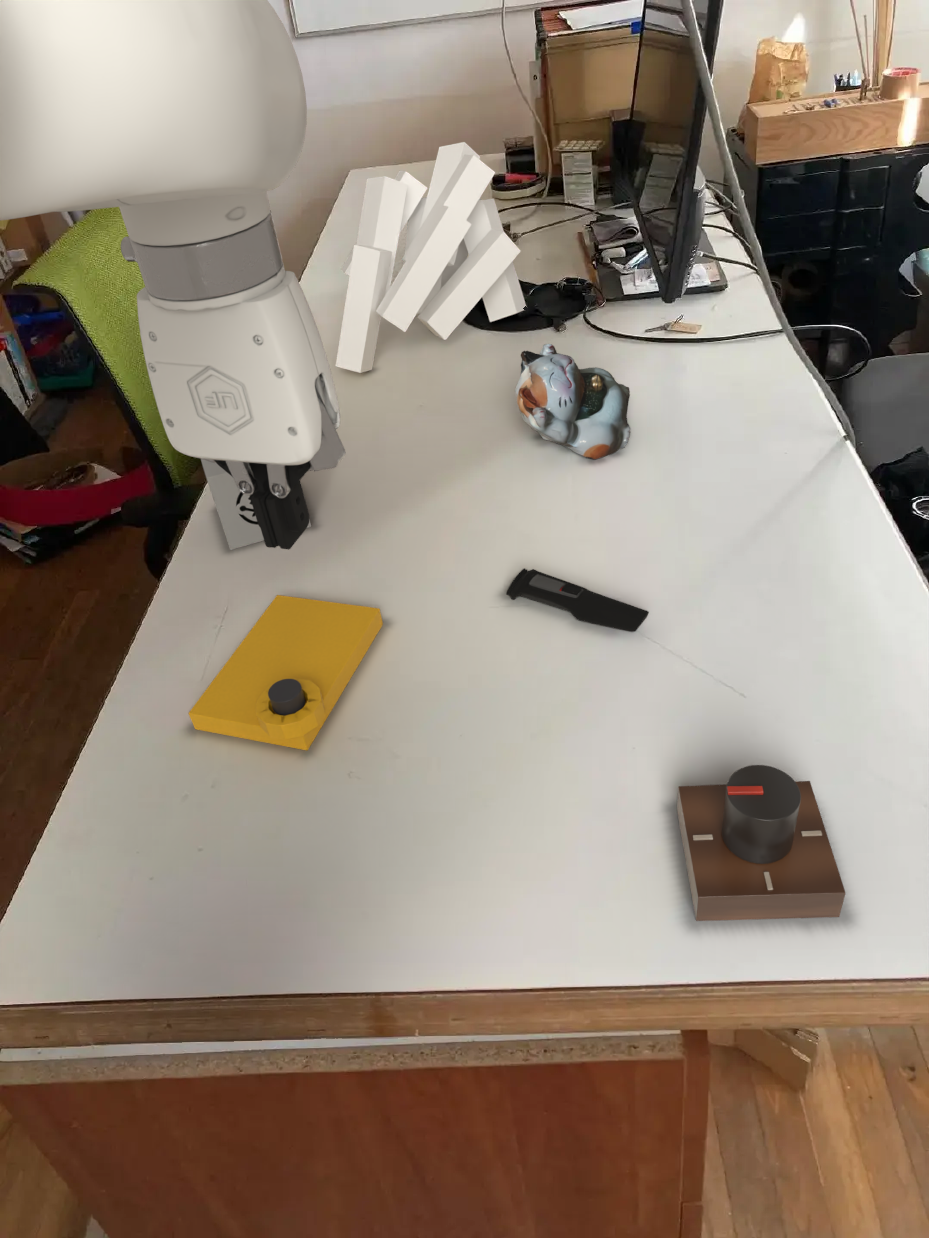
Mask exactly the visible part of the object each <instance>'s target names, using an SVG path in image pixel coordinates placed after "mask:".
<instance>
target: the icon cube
mask: <svg viewBox="0 0 929 1238" xmlns="http://www.w3.org/2000/svg"><path fill="white" fill-rule="evenodd" d="M200 461H201V465H202V468H203V472H204V476H205V479H206V481H207V484H208V488H209V490H210V494H211V496H212V499H213V502H214V505H215V508H216V511H217V514H218V517H219V520H220V523H221V526H222V530H223V532H224V535H225V538H226V542H227V544H228V548H229V550H230V551H232V550H236V549H239V548H243V547H246V546H249V545H254V544H257V543H260V542H265V541H264V538H263V535H262V531H261V528H260V527H259V525H258V522H257V519H256V515H255V512H254V509H253V505H252V502H251V499H250V496H249V495H245V494H243V493H242V492H240V491H239V489H238V487H237V485H236V483H235V481H234V479H233V477H232V476H231V475H230V474H228V473H227V472H226V471H225V470H224V469H222V468H221V467H220V466H219V465H218V464H217V463H216V462H215V463H213V462H209V461H206V460H203V459H200ZM311 523H312V522H311V520H310V518H309V524H308V526H307V528H306V529H309V528H311V527H312V525H311Z"/></svg>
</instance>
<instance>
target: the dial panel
mask: <svg viewBox="0 0 929 1238" xmlns="http://www.w3.org/2000/svg"><path fill="white" fill-rule="evenodd" d="M794 781H795V780H794ZM795 782H796V784H797V786H798V788H799V790H800V794H801V801H800V806H799V812H798V817H797V822H796V828H795V833H794V838H793V843H792V847H791V850H790V851H789V853H788V854H787V855H786V856H785V857H784V858H782V859H780V860H779V861H776V862H773V863H768V864H757V863H751V862H748V861H745V860H743V859H741V858H739V857H737V856H736V855H735V854H733V853H732V852H731V851H730V850H729V849H728V847H727V846H726V844H725V843H724V840H723V837H722V823H723V814H724V805H725V796H726V786H727V783H726V784H703V785H701V784H700V785H679V786H678V788H677V803H676V813H677V818H678V825H679V830H680V836H681V842H682V848H683V853H684V859H685V864H686V871H687V877H688V882H689V883H688V884H689V888H690V894H691V899H692V900H691V901H692V906H693V911H694V917H695V918H694V919H695V921H696V922H708V921H709V922H710V921H711V922H713V921H743V920H748V921H749V920H776V919H777V920H781V919H785V920H786V919H818V918H819V919H821V918H840V917H841V916H840V915H841V912H842V909H843V905H844V900H845V897H846V890H845V886H844V884H843V881H842V877H841V874H840V871H839V867H838V865H837V862H836V858H835V856H834V851H833V850H832V845H831V842H830V839H829V837H828V833H827V830H826V828H825V824H824V821H823V818H822V814H821V812H820V808H819V805H818V802H817V798H816V795H815V793H814V790H813V786H812V784H811V781H810V780H798V781H797V780H796V781H795Z"/></svg>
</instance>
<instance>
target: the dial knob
mask: <svg viewBox="0 0 929 1238" xmlns="http://www.w3.org/2000/svg"><path fill="white" fill-rule="evenodd" d="M726 784H727V786H726V796H725V805H724V814H723V823H722V837H723V840H724V843H725V844H726V846H727V847H728V849H729V850H730V851H731V852H732V853H733V854H735V855H736V856H737V857H739V858H741V859H743V860H745V861H748V862H751V863H757V864H768V863H773V862H776V861H779V860H780V859H782V858H784V857H785V856H786V855H787V854H788V853H789V851H790V850H791V847H792V843H793V838H794V833H795V828H796V822H797V817H798V812H799V806H800V801H801V794H800V790H799V788H798V786H797V784H796V782H795V780H794V779H793V778H792V776H790V775H789V774H788V773H786V772H784V771H783V770H781V769H780V768H776V767H774V766H770V765H763V764H751V765H747V766H743V767H742V768H739V769H737V770H736V771H735V772H733V773H732V774H731V775H730V777H729V779H728V781H727V783H726Z"/></svg>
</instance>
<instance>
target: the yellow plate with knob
mask: <svg viewBox="0 0 929 1238" xmlns="http://www.w3.org/2000/svg"><path fill="white" fill-rule="evenodd" d="M382 617H383V616H382V613H381V609H380V608H379V607H372V606H366V605H365V606H364V605H356V604H349V603H348V604H347V603H342V602H336V601H335V602H334V601H328V600H320V599H319V600H318V599H313V598H305V597H296V596H288V595H281V594H276V596H275V597H274V598H273V600H272V601H271V602H270V604H269V605H268V607H267V608H266V609H265V611H263V613H262V614H261V616H260V617H259V619H258V620H257V621H256V622H255V623H254V625H253V626H252V627H251V629H250V630H249V632H248V633H247V635H246V636H245V637H244V638H243V640H242V641H241V642H240V644H239V645H237V648H236V649H235V650H234V651H233V653H232V654H231V656H229V659H228V660H227V661H226V662H225V663H224V665H223V666H222V668H221V669H220V670H219V671H218V673H217V674H216V676H215V677H214V678H213V680H211V682H210V683H209V685H208V686H207V688H206V689H205V690H204V691H203V693H202V695H201V696H199V698H198V700H197V701H196V702H195V704H194V705H193V706H192V708H191V709H190V710H189V712H188V717H189V718H190V721H191V723H192V726H193V728H194V729H195V730H198V731H202V732H207V733H213V734H219V735H223V736H228V737H234V738H239V739H244V740H249V741H254V742H260V743H265V744H271V745H276V746H280V747H281V746H282V747H287V748H292V749H297V750H303V751H309V749H310V747H311V746H312V744H313V742H314V741H315V739H316V737H317V736H318V734H319V733H320V731H321V729H322V727H323V726H324V724H325V722H326V721H327V719H328V717H329V716H330V714H331V712H332V711H333V710H334V707H335V706H336V704H337V702H338V701H339V699H340V698H341V696H342V694H343V692H344V691H345V689H346V687H347V685H348V684H349V683H350V681H351V679H352V677H353V675H354V674H355V672H356V671H357V669H358V668H359V665H360V664H361V662H362V661H363V659H364V657H365V656H366V654H367V652H368V650H369V649H370V647H371V646H372V644H373V642H374V640H375V639H376V637H377V635H378V634H379V632H380V630H381V629H382V627H383V625H384V621H383V618H382ZM283 679H294V680H297V681H298V682H299V683H300V684H301V687H302V690H303V693H304V697H305V705H304V707H303V708H302V709H301V710H299V711H297V712H296V713H294V714H290V715H285V716H282V715H278V714H276V713H275V712H274V711H273V708H272V705H271V702H270V699H269V696H268V691H269V689H270V687H271V686H272V685H273V684H274V683H276V682H278V681H280V680H283Z"/></svg>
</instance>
